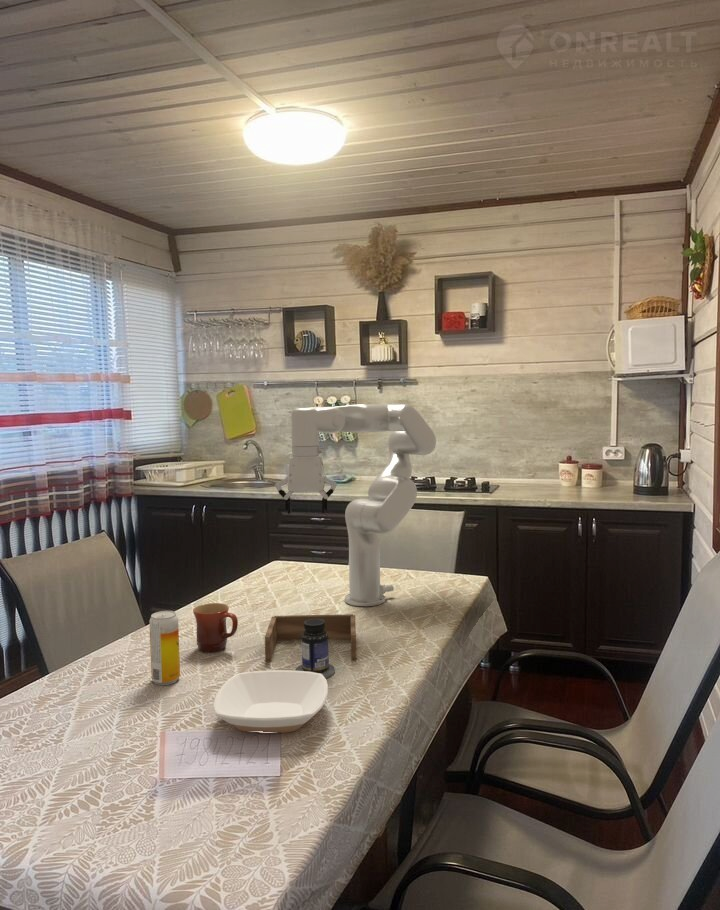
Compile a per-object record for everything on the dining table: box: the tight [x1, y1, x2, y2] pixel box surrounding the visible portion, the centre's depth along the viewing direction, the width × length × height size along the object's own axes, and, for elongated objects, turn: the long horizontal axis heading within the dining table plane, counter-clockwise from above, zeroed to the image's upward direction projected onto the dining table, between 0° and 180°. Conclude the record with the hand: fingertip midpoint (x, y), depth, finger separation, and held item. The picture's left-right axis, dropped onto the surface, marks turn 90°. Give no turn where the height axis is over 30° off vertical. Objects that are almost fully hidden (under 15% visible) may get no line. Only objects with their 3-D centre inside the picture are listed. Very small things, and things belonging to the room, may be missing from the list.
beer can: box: [149, 610, 181, 686], centre depth 147 cm, size 6×6×15 cm
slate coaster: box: [294, 663, 336, 680], centre depth 151 cm, size 9×9×1 cm
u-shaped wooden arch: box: [264, 613, 357, 663], centre depth 165 cm, size 16×22×6 cm
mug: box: [192, 602, 239, 653], centre depth 165 cm, size 12×9×10 cm
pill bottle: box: [300, 619, 330, 673], centre depth 150 cm, size 6×6×11 cm
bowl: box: [212, 669, 329, 734], centre depth 129 cm, size 22×22×5 cm
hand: (306, 512), depth 186 cm, fingers open, 9 cm apart
